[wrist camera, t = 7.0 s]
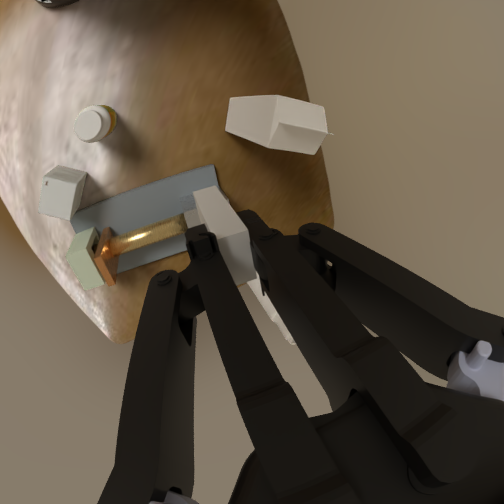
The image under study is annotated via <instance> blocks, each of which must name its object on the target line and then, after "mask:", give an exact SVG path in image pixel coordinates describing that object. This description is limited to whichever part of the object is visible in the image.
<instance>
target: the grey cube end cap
mask: <svg viewBox="0 0 504 504" xmlns="http://www.w3.org/2000/svg"><path fill="white" fill-rule="evenodd" d="M217 188H218V190H219V191H220V192H221V194H222V195H223V196H224V198H225V199H226V200H227V202H228V203H229V199H228V198H227V196H226V195H225V194H224V192H223V191H222V190H221V189H220V187H219V186H217ZM179 199H180V202H181V206H182V210H183V213H184V216H185V220H186V223H187V226H188V228H191V227H194V226H197V225H201V221H200V218H199V214H198V210H197V207H196V203H195V199H194V195H193V194H190V195H187V196H184V197H180V198H179Z"/></svg>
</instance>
